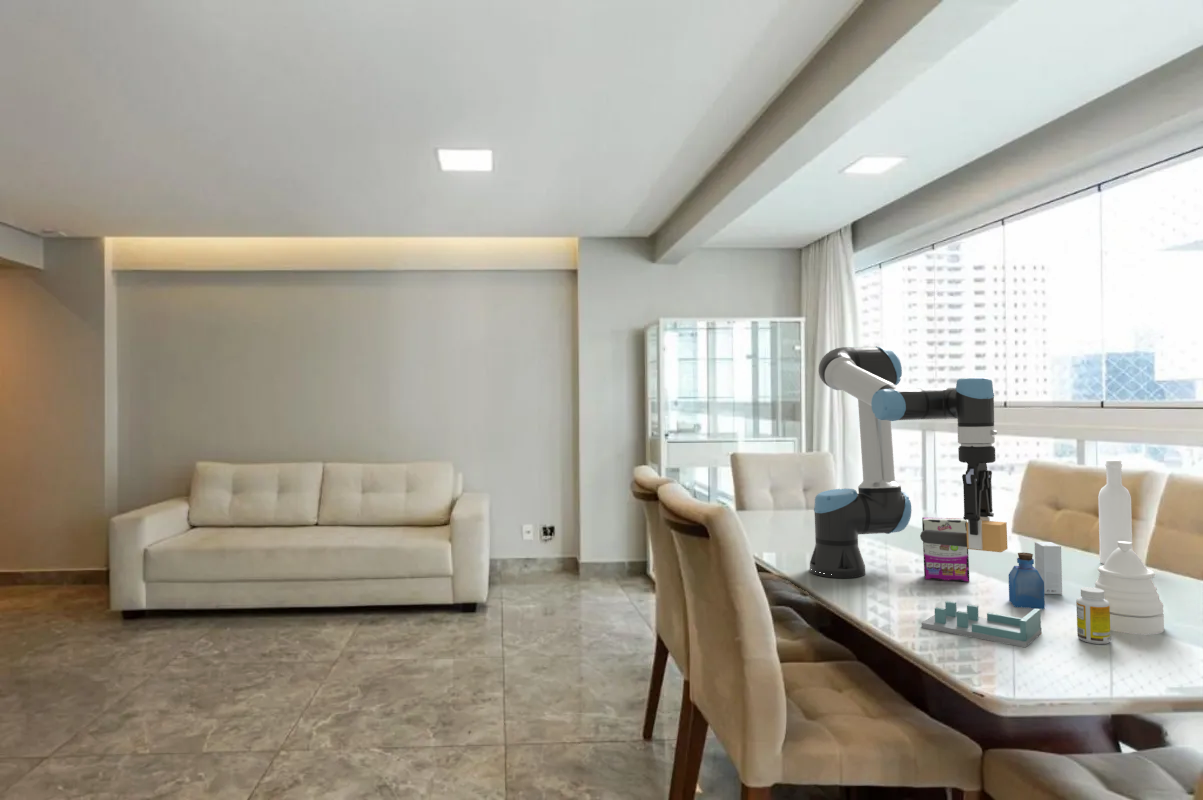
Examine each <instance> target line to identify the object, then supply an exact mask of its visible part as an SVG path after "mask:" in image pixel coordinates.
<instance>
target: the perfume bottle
mask: <svg viewBox="0 0 1203 800" xmlns="http://www.w3.org/2000/svg"><path fill="white" fill-rule="evenodd" d="M1017 555H1018V557H1017V558H1016V562H1017V564H1018V565H1014V566H1013V567H1012V569H1011V570H1010V572H1009V573H1008V599H1009V602H1010V603H1011V605H1012V606H1013V607H1014V608H1021V609H1035V608H1036V609H1040V610H1045V609H1046V606H1045V594H1044V581H1043V580H1042V578H1041V576H1040V574H1039V573H1038V571H1037V570H1036V569H1035V566H1033V565H1035V558H1034V554H1033V553H1031V552H1030V553H1029V552H1017Z"/></svg>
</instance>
